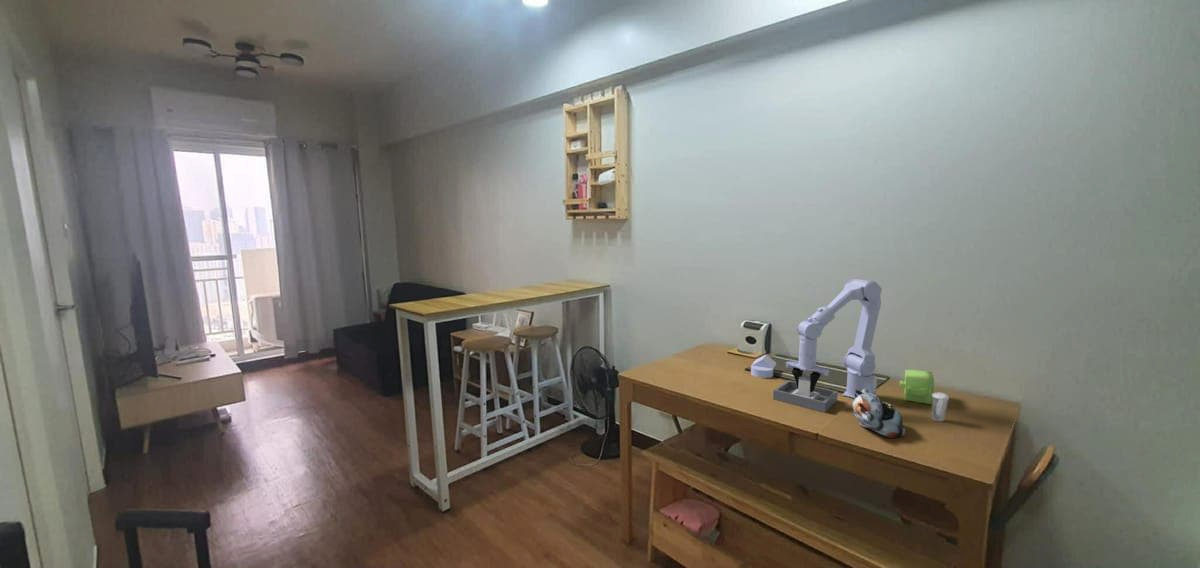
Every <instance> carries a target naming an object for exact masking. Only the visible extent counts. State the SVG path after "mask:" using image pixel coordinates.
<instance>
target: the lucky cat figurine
mask: <svg viewBox="0 0 1200 568" xmlns="http://www.w3.org/2000/svg"><path fill="white" fill-rule="evenodd" d="M855 392H856V393H855V398H854V400H853V402H852V413H853V414H854V416H855V418H857V420H858V421H859V426H860V427H863V428H868V429H870V430H872V431H874V432H876V433H878V434H880V435H882V436H884V437H886V438H888V439H898V438H900V437H905V435H906V428H905V427H904V426H903V417H902V415H901V412H900V411H899V410H898V409H897V408H895V406H893V404H891V403H888V402H886V401H881V399H880V396H878V394H876V395H875V394H872V393H868V390H867V389H863V390H862V392H861V391H859V390H856V391H855Z"/></svg>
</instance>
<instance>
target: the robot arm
mask: <svg viewBox="0 0 1200 568" xmlns="http://www.w3.org/2000/svg"><path fill="white" fill-rule="evenodd" d="M881 294H882V287H881V286H880V285H879V283H878V282H876V281H873V280H865V279H861V278H857V277H856V278H855V277H854V278H851V279H850V280H849V281H848V282H847V283H845V284H844V287H843V289H842V290H841V291H840V292H839V293H838V294H837V296H835V298H834V299H833V300H832V301H831V302H830V303H828V305H827V306H821V307H818V308H817V309H816V311H815V312H814V313H812V315H810V316H809V317H808V318H807V320H802V321H801V322H800V323H798V326H797V327H796V333H797V334H798V338H799V344H798V345H799V347H798V348H799V350H798V362H797V361H790V360H788V361H786V362H785V368H791V369H792V370H791V373H792V375H793V378H794V380H795V382H796V384H797V389H798V385H799V376H801V375H802V374H803V373H804V371H805V372H810V373H809V376H810V380H811V385H810V392H813V391H814V388H815V386H816V385H817V383H818V380H819V379H820V377H821V376H822V375H823V376H826V377H828V376H829V374H830V369H829V368H825V367H821V366H819V365H816V364H817V349H818V348H817V346H818V338H820V337H821V335H822V332H823V331H824V328H825V327H827V325H828V324H829V323H831V322H832V321H833V320H835V316H836V315H835V314H836V313H837V312H838V311H840V310H841V309H842V308H843V307H845V306H846V305H847V304H849V302H851V301H854V300H856V301H859V303H861V304H862V308H861V312H860V317H859V321H858V322H859V323H858V326H857V331H856V335H855V339H854V344H853V346H851V347H850V348H848V349H847V353H846V354H845V356H844V358H843V364H844V366H845V367H846V371H847V373H846V374H847V375H846V376H847V378H846V388H845V389H846V390H845V391H844V392H843V393H842V396H844V397H847V398H851V399H852V398H853V399H855V393H856V392H855V391H856V390H859V391H861V392H862V390H863V389H867V390H868V393H872V394H875V395H877V384H878V383H877V382H878V379H877V376H876V375H872V374H873V373H874V372H875V370H876V355H875V354H874V352H873V351H872V345H873V340H874V337H875V332H876V328H877V324H878V318H879V314H880V309H881V305H882V300H881Z"/></svg>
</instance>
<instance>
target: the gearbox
mask: <svg viewBox="0 0 1200 568" xmlns="http://www.w3.org/2000/svg"><path fill="white" fill-rule="evenodd" d="M934 386H935V379H934V375H933V371H929V370H917V369H905V370H904V381H903V380H899V387H900V388H904V400H905V401H908V402H909V401H910V402H915V403H922V404H927V405H929V404H931V405H932V394H933V393H935V392H934V391H935V389H934ZM929 389H930V390H929ZM930 391H931V392H930ZM931 393H932V394H931Z"/></svg>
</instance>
